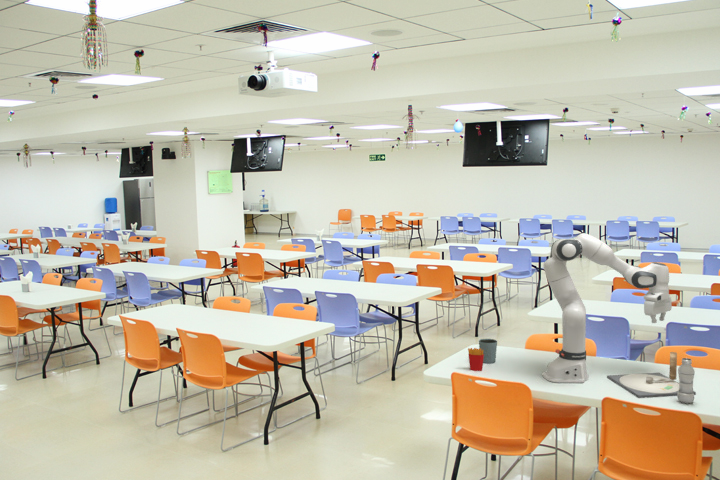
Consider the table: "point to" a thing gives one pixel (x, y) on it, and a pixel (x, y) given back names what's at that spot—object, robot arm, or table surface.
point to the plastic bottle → (686, 381)
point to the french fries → (476, 359)
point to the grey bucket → (488, 350)
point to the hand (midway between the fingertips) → (657, 321)
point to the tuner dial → (646, 385)
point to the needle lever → (672, 370)
